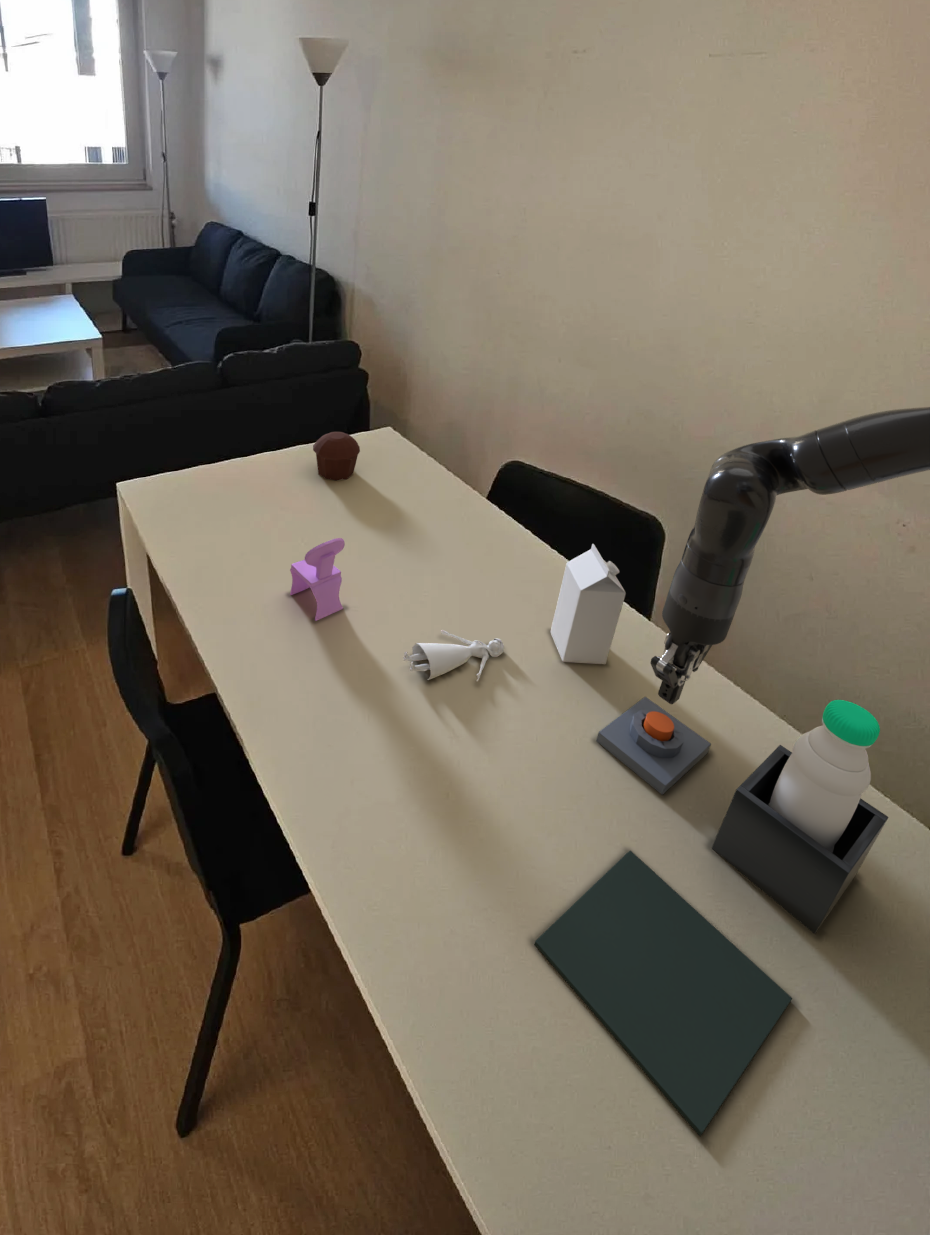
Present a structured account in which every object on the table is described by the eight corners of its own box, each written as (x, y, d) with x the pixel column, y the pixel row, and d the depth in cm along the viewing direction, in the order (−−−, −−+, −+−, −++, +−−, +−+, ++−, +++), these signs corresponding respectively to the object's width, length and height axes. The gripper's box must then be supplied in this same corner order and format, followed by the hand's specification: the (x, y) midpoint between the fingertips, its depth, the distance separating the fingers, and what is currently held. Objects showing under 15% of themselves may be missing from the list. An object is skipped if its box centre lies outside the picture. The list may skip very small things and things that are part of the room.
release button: (652, 716, 98) (655, 707, 98) (676, 733, 96) (679, 724, 95) (638, 727, 96) (641, 718, 96) (662, 745, 94) (665, 736, 93)
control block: (641, 706, 104) (648, 687, 103) (707, 754, 97) (715, 734, 95) (595, 742, 98) (601, 722, 96) (661, 797, 91) (669, 776, 89)
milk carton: (562, 663, 112) (585, 569, 104) (549, 633, 119) (571, 542, 111) (605, 666, 112) (632, 572, 104) (590, 635, 118) (614, 544, 111)
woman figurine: (393, 626, 112) (486, 612, 118) (389, 648, 113) (481, 632, 120) (426, 679, 102) (526, 660, 108) (421, 701, 103) (520, 681, 109)
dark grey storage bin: (753, 803, 90) (780, 744, 86) (853, 878, 82) (888, 816, 77) (710, 850, 84) (736, 789, 80) (813, 936, 76) (849, 873, 71)
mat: (628, 855, 83) (630, 849, 83) (789, 1003, 70) (792, 998, 69) (533, 946, 74) (535, 940, 73) (699, 1138, 60) (702, 1133, 60)
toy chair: (320, 581, 129) (324, 514, 123) (348, 608, 122) (354, 538, 116) (283, 596, 124) (285, 527, 118) (310, 625, 118) (314, 553, 112)
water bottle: (813, 854, 84) (890, 705, 74) (818, 906, 79) (902, 753, 69) (747, 825, 87) (812, 678, 77) (748, 873, 82) (818, 722, 72)
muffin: (338, 456, 175) (340, 421, 171) (367, 474, 168) (370, 438, 164) (302, 469, 169) (303, 433, 165) (331, 488, 161) (333, 450, 157)
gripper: (705, 634, 80) (668, 739, 87) (758, 596, 87) (719, 696, 94) (646, 598, 86) (615, 700, 93) (699, 565, 93) (667, 661, 100)
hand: (667, 697), depth 94 cm, fingers closed
